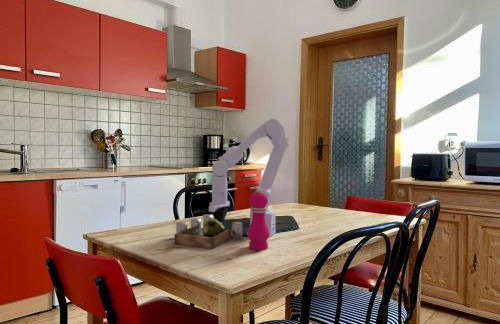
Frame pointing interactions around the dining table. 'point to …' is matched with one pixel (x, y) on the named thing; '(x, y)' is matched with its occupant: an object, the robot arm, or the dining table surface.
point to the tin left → (237, 230)
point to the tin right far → (181, 226)
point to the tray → (200, 239)
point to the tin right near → (196, 224)
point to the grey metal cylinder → (206, 217)
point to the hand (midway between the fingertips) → (219, 227)
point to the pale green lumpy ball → (212, 227)
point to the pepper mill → (258, 222)
